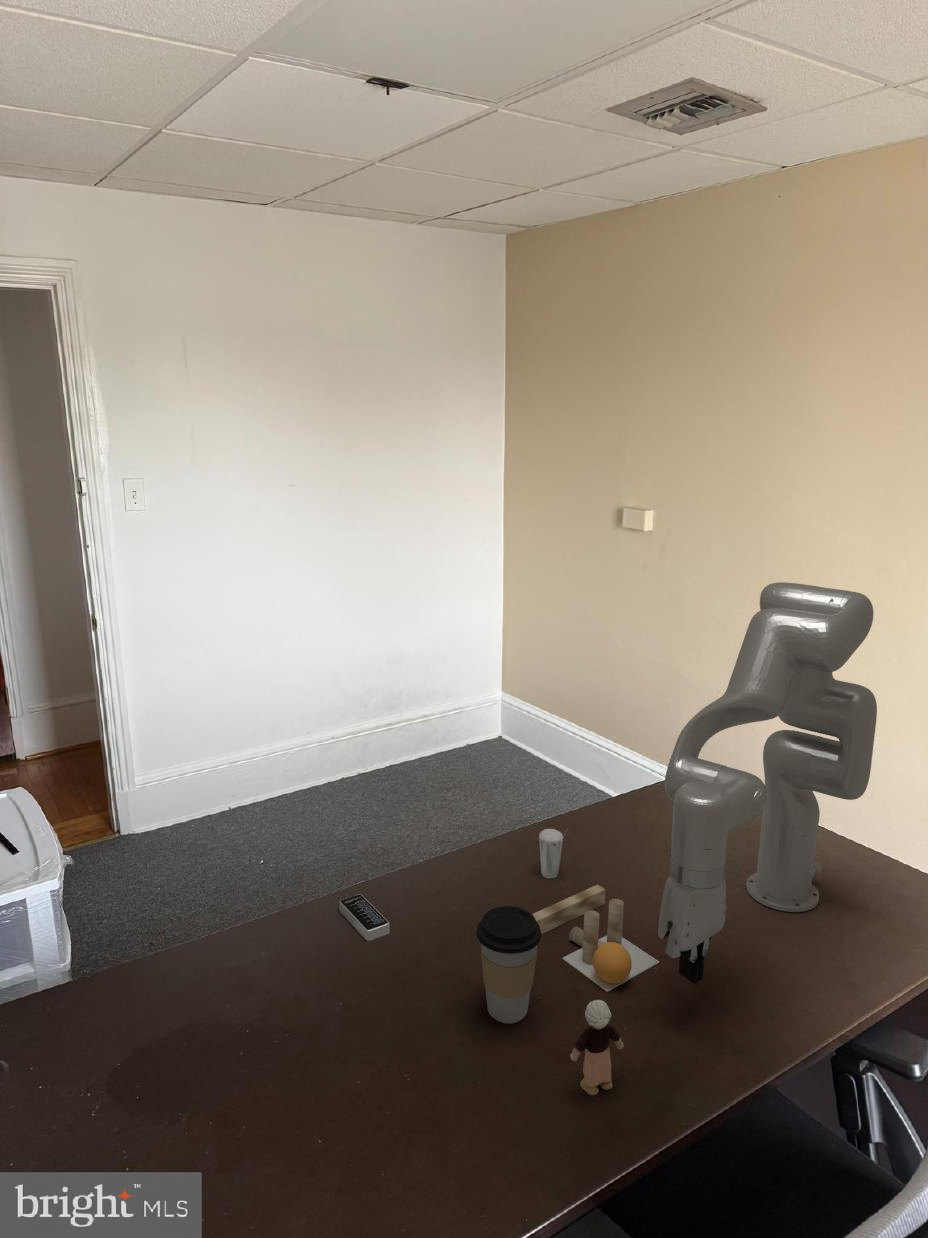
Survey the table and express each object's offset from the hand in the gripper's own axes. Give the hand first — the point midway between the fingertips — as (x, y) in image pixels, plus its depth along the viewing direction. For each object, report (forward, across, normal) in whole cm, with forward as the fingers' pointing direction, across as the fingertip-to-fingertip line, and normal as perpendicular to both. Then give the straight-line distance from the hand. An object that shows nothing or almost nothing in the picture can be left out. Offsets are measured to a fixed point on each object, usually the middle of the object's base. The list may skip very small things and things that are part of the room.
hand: (690, 976), depth 127 cm
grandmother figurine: (+5, +22, +2) cm, 23 cm away
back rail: (+6, +1, -28) cm, 28 cm away
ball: (+2, +5, -11) cm, 13 cm away
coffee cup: (+5, +22, -16) cm, 28 cm away
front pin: (+4, +2, -14) cm, 15 cm away
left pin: (+5, +4, -17) cm, 18 cm away
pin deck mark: (+6, +1, -15) cm, 16 cm away
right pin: (+6, -1, -17) cm, 18 cm away
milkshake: (+6, -9, -40) cm, 41 cm away
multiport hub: (+5, +28, -48) cm, 56 cm away
